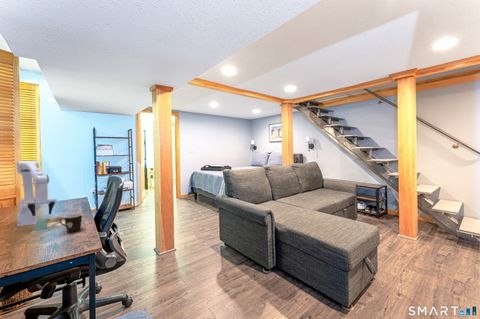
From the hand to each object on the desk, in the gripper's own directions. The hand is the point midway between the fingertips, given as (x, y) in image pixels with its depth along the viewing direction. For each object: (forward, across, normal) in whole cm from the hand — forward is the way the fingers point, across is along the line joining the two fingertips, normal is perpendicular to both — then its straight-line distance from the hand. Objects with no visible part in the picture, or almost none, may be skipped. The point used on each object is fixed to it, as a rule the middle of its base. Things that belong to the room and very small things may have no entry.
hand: (42, 214), depth 131 cm
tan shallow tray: (+10, +5, +9) cm, 14 cm away
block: (+9, 0, -1) cm, 9 cm away
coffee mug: (+10, +17, -12) cm, 23 cm away
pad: (+10, 0, -1) cm, 10 cm away
